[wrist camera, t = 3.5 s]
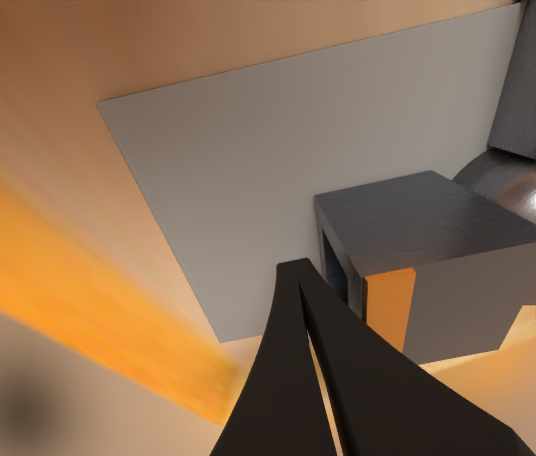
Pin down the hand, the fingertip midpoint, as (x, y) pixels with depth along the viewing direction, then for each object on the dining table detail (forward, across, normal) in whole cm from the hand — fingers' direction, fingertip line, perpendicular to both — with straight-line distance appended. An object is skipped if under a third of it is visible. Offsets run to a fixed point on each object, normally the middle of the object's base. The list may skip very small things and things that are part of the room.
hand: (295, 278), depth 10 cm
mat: (+3, -4, 0) cm, 4 cm away
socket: (+2, -4, 0) cm, 5 cm away
